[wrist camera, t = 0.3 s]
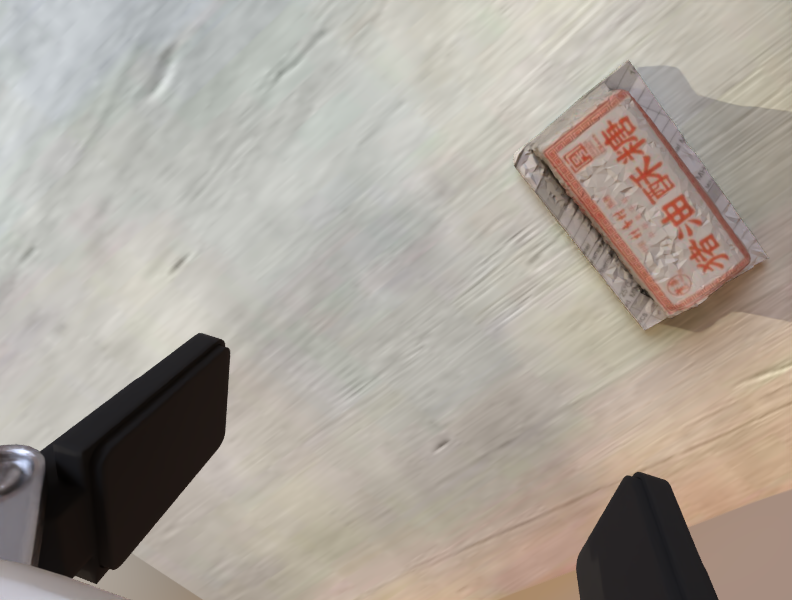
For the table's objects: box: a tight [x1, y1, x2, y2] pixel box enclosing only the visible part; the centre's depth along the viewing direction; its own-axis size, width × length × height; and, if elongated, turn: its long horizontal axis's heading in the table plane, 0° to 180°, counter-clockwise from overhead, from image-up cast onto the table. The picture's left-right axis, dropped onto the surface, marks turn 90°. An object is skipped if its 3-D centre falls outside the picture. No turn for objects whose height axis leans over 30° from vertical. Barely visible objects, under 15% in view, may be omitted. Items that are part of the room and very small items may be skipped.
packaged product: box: [513, 60, 769, 330], centre depth 34 cm, size 18×5×10 cm
